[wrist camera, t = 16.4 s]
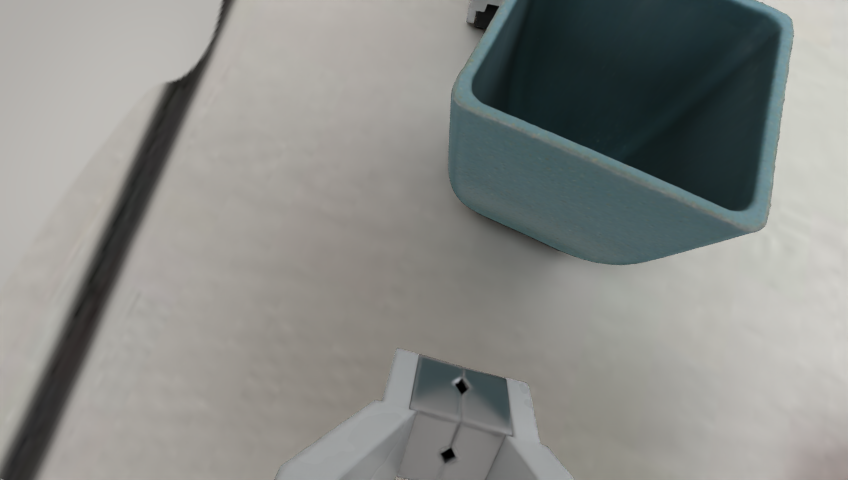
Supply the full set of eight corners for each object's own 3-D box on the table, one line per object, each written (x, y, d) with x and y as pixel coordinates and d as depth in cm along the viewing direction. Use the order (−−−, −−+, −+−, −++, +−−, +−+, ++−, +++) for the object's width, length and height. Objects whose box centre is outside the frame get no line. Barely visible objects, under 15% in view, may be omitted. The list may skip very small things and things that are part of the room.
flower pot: (594, 310, 18) (773, 236, 10) (419, 229, 19) (444, 95, 10) (637, 163, 21) (799, 12, 13) (486, 98, 22) (547, -83, 14)
